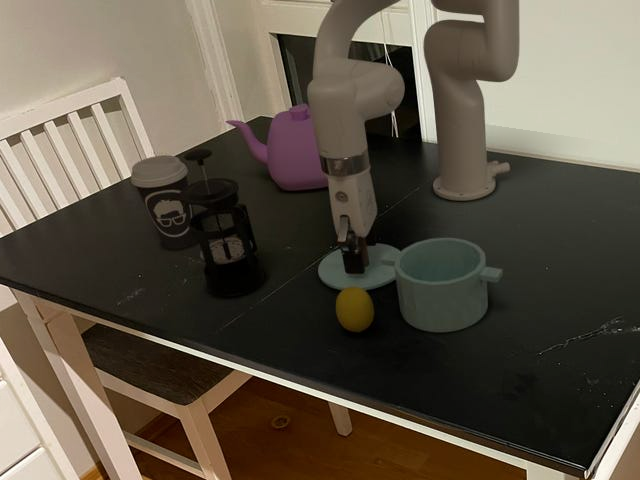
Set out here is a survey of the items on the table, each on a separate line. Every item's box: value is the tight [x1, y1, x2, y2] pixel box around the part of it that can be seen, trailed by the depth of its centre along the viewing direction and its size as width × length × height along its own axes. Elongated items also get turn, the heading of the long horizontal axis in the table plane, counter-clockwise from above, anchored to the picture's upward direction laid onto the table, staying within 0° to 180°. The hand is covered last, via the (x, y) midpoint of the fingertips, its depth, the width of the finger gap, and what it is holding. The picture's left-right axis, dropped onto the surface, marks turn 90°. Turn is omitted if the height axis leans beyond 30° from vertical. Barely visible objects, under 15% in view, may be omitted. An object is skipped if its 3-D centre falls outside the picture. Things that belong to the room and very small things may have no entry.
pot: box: [381, 236, 504, 333], centre depth 113 cm, size 14×19×8 cm
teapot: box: [225, 103, 329, 191], centre depth 153 cm, size 23×21×15 cm
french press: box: [179, 148, 265, 299], centre depth 117 cm, size 12×9×23 cm
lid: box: [317, 237, 402, 291], centre depth 123 cm, size 15×15×6 cm
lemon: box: [335, 286, 375, 333], centre depth 109 cm, size 6×6×8 cm
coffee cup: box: [130, 154, 199, 250], centre depth 132 cm, size 10×10×15 cm
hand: (361, 258), depth 124 cm, fingers open, 8 cm apart
